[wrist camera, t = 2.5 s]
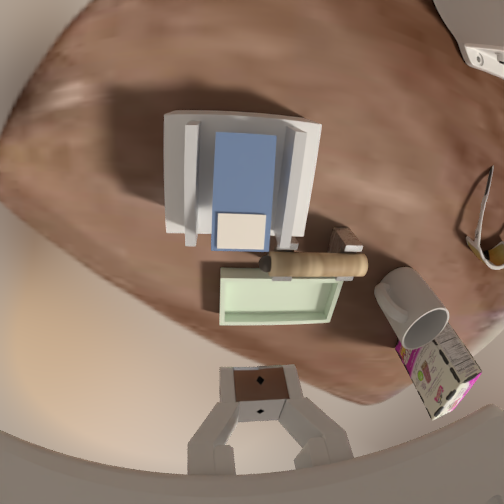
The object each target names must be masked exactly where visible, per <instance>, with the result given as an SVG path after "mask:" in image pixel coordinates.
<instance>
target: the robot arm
mask: <svg viewBox="0 0 504 504" xmlns="http://www.w3.org/2000/svg"><path fill="white" fill-rule="evenodd" d="M433 1H434V4H435V6H436V8H437V10H438V12H439V14H440V16H441V18H442V19H443V21H444V23H445V24H446V26H447V27H448V29H449V30H450V31H451V33H452V34H453V36H454V37H455V39H456V40H457V42H458V45H459V48H460V51H461V53H462V56H463V59H464V61H465V62H466V64H467V65H469V66H471V67H473V68H476V69H479V70H482V71H484V72H487V73H490V74H492V75H495V76H497V77H500V78H502V79H504V0H433ZM268 420H279V422H280V423H281V424H282V425H283V427H284V428H285V429H286V430H287V431H288V432H289V434H290V435H291V436H292V437H293V438H294V439H295V440H296V441H297V442H298V444H299V445H300V446H301V447H302V448H303V449H302V450H301V451H300V453H299V454H298V455H297V457H296V458H295V459H294V463H295V468H296V470H289V471H281V472H272V473H262V474H248V475H236V472H235V463H234V454H233V453H234V452H233V448H232V447H231V446H230V445H225V444H226V442H227V441H228V439H229V437H230V436H231V434H232V432H233V431H234V429H235V427H236V425H237V423H238V422H249V421H268ZM0 504H504V410H503V409H501V408H499V407H498V406H496V405H494V404H488V405H486V406H484V407H482V408H480V409H478V410H477V411H475V412H473V413H471V414H469V415H467V416H465V417H463V418H461V419H459V420H457V421H455V422H453V423H451V424H449V425H447V426H444V427H442V428H440V429H438V430H435V431H433V432H431V433H428V434H426V435H423V436H421V437H418V438H416V439H413V440H410V441H408V442H405V443H402V444H399V445H397V446H394V447H390V448H388V449H384V450H381V451H378V452H374V453H371V454H368V455H364V456H360V457H356V458H354V457H353V453H352V450H351V447H350V444H349V440H348V437H347V434H346V431H345V430H344V429H343V428H341V427H340V426H339V425H338V424H337V423H336V422H334V421H333V420H332V419H331V418H330V417H329V416H327V415H326V414H325V413H324V412H323V411H322V410H321V409H319V408H318V407H317V406H316V405H315V404H314V403H313V402H312V401H311V400H309V399H308V398H307V397H306V398H304V397H303V393H302V389H301V385H300V381H299V377H298V374H297V370H296V366H295V365H293V364H292V365H274V366H257V367H220V402H218V403H217V404H216V405H215V406H214V408H213V409H212V411H211V412H210V414H209V415H208V416H207V418H206V419H205V421H204V422H203V423H202V425H201V426H200V428H199V429H198V430H197V432H196V433H195V434H194V436H193V437H192V438H191V440H190V441H189V442H188V475H183V474H169V473H159V472H150V471H141V470H135V469H128V468H121V467H117V466H111V465H106V464H101V463H97V462H93V461H88V460H84V459H81V458H77V457H73V456H69V455H66V454H63V453H59V452H56V451H53V450H50V449H47V448H44V447H41V446H38V445H36V444H32V443H30V442H28V441H25V440H22V439H20V438H18V437H15V436H13V435H10V434H8V433H6V432H4V431H1V430H0Z"/></svg>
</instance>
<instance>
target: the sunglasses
mask: <svg viewBox="0 0 504 504" xmlns="http://www.w3.org/2000/svg"><path fill="white" fill-rule="evenodd" d="M493 169H494V165H493V166H492V168H491V169H490V171H489V176H488V181H487V185H486V190H485V194H484V197H483V200H482V203H481V211H480V217H479V221H478V225H477V228H476V231H475V241H473V240H472V239H471V238H470V237H469V236H467V237H466V242H467V244H468V245H469V247H470V249H471V250H472V252H473V253H474V254H475V255H476V257H477V258H478V259H479V260H481V261H482V262H483V263H484V264H486V265H487V266H488V267H490V268H491V269H494V270H499V269H502V268H504V242H503V241H501V242H500V243H499V244H497V245H496V246H495V247H494V248H492V249H491V250H489V251H488V250H487V251H485V252H484V253H483V252H482V250H481V248H480V237H481V226H482V220H483V214H484V209H485V204H486V201H487V198H488V194H489V190H490V185H491V179H492V174H493Z"/></svg>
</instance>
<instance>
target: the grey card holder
mask: <svg viewBox="0 0 504 504" xmlns="http://www.w3.org/2000/svg"><path fill="white" fill-rule="evenodd" d="M321 127H322V124H319V123H317V122H314V121H312V120H309V119H306V118H301V117H293V116H285V115H275V114H265V113H253V112H238V111H215V110H174V111H172V112H169V113H167V114H164V196H165V219H166V233H185V246H196V242H197V235H198V233H199V234H211V233H212V200H213V176H214V156H215V138H216V132H230V133H248V134H262V135H274V136H277V140H276V156H275V172H274V187H273V202H272V216H271V230H270V235H271V236H275V237H276V240H277V243H278V246H279V248H286V249H289V248H290V242H291V236H299V237H303V236H304V231H305V226H306V220H307V215H308V209H309V203H310V198H311V192H312V186H313V180H314V174H315V167H316V161H317V155H318V148H319V141H320V134H321Z"/></svg>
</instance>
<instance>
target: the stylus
mask: <svg viewBox="0 0 504 504" xmlns="http://www.w3.org/2000/svg"><path fill="white" fill-rule="evenodd" d="M259 268H260V269H261V270H262V271H263V272H268V274H269V276H270V277H352V276H365V274H366V273H367V270H368V260H367V257H366V255H365V254H358V253H317V252H275V251H270V252H269V256H263V257H262V258H261V259H260V260H259Z"/></svg>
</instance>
